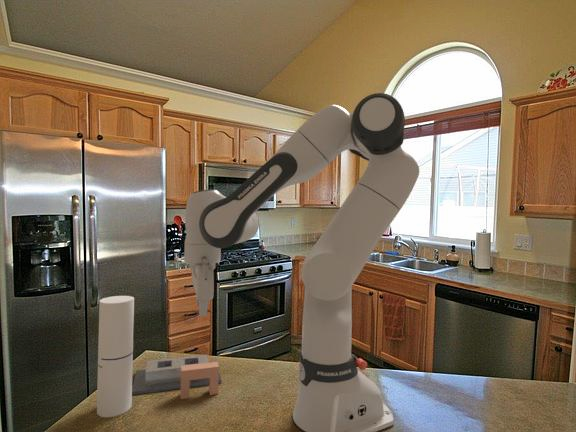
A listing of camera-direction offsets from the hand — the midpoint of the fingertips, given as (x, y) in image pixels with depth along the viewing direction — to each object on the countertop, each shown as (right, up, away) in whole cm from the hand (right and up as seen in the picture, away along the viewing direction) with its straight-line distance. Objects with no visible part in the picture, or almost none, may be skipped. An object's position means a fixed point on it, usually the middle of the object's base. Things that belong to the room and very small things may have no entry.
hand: (201, 310), depth 85 cm
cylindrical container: (-18, -21, -7) cm, 29 cm away
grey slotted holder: (-8, -21, +8) cm, 24 cm away
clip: (-1, -21, 0) cm, 21 cm away
